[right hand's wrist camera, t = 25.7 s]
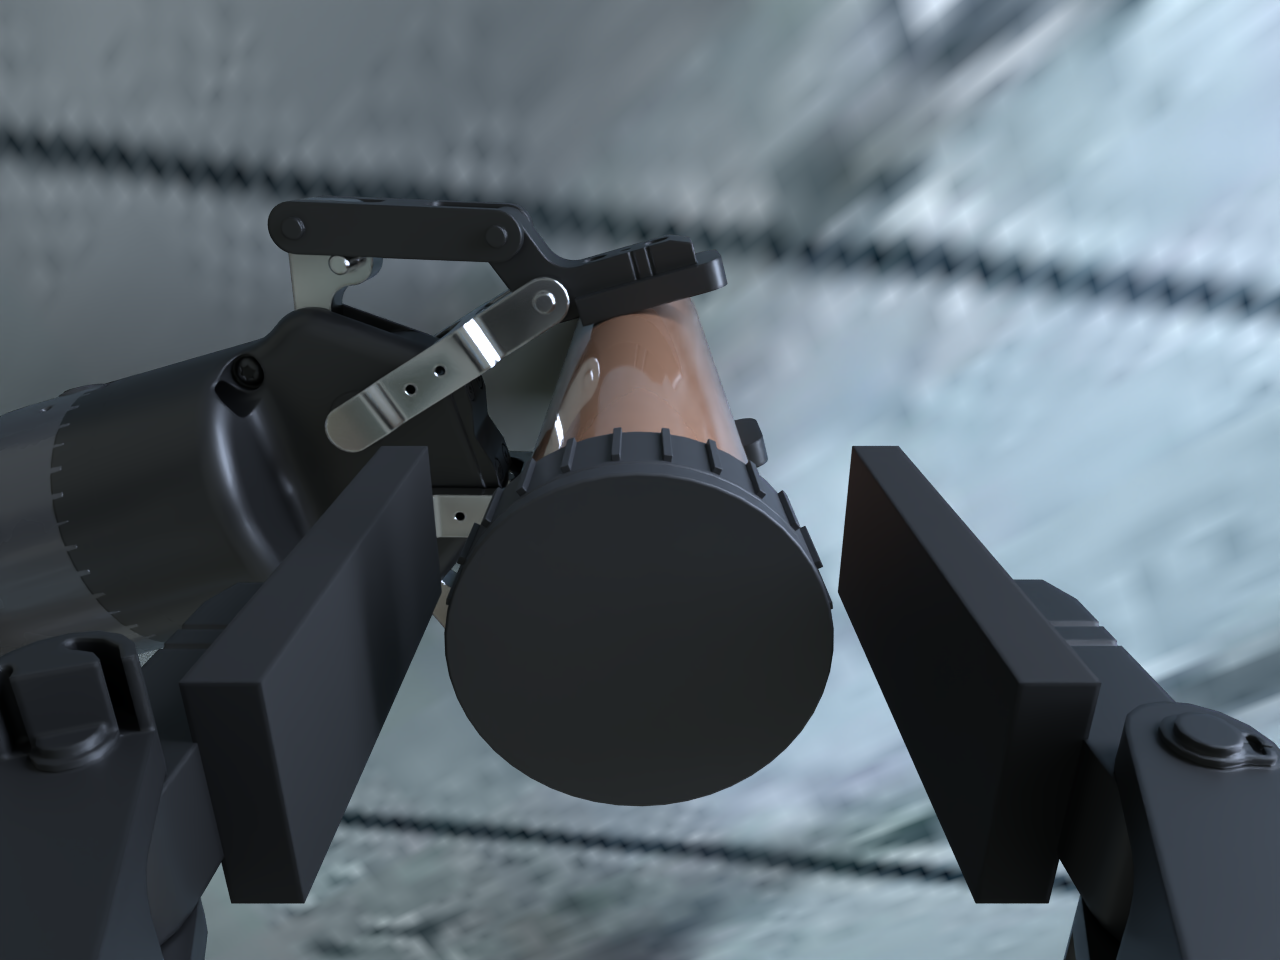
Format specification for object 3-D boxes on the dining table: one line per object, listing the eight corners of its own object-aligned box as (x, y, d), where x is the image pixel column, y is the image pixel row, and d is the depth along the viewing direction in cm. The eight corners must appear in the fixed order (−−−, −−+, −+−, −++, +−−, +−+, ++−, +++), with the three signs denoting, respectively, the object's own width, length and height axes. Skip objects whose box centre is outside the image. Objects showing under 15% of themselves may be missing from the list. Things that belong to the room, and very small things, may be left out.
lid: (598, 347, 11) (592, 381, 9) (890, 560, 12) (925, 618, 10) (396, 623, 12) (363, 688, 11) (672, 788, 13) (676, 868, 12)
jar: (704, 272, 28) (808, 478, 11) (695, 393, 29) (774, 741, 12) (579, 267, 28) (484, 463, 11) (577, 387, 29) (490, 730, 12)
